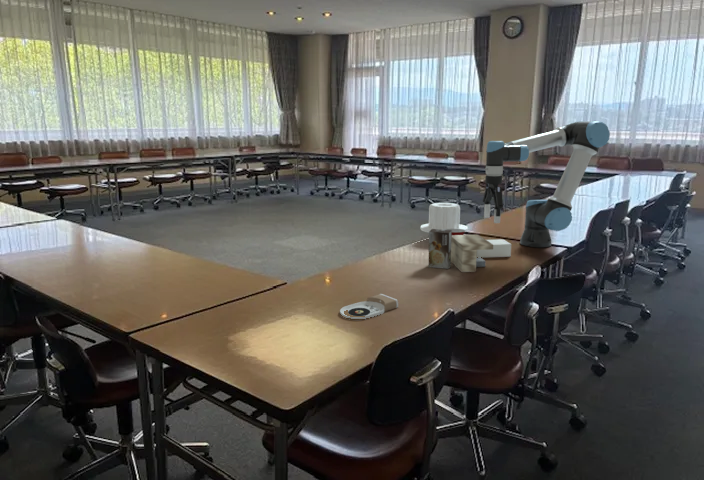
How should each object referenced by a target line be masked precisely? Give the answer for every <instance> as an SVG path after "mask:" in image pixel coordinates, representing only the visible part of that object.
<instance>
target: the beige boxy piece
mask: <svg viewBox="0 0 704 480" xmlns="http://www.w3.org/2000/svg"><path fill="white" fill-rule="evenodd" d="M487 240H488V239H485V238H483V237H482V236H481V235H480V234H464V235H452V237H451V264H453V266H455V267H456V268H457V269H458V270H459V271H460V272H462V273H470V272H471V273H475V272H476V271H477V268H483V267H485V268H486V264H487V263H486V260H485V259H483V257H482V258H481V257H478V258H477V250H490V249H493V244H491V243H490V242H488V241H487Z"/></svg>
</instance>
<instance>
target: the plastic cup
mask: <svg viewBox="0 0 704 480" xmlns="http://www.w3.org/2000/svg"><path fill="white" fill-rule="evenodd" d="M443 230H452V235H465V233H466V232H465V230H464V229H443Z"/></svg>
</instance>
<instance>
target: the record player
mask: <svg viewBox="0 0 704 480" xmlns="http://www.w3.org/2000/svg"><path fill="white" fill-rule="evenodd" d="M397 308H399V301H398V299H397V298H394V297H391V296H388V295H386V294H383V293H378V294H375V295H373V296H369V297H367V299H366V300H365V301H359V302H358V301H357V302H356V303H350V304H349V305H345V306H342V308H340V309H339V315H340V314H341V315H342V316H344V317H346V318H351V319H365V320H367V319H366V318H369V319H371V318H370V317H372V318H375V317H378V316H381V315H383V314H385V312H388V311H390V310H394V309H397ZM346 310H348V313H349V314H350V315H353V316H365V317H350V316H347V315H345V314H344V311H346ZM380 314H381V315H380ZM341 315H340V316H341ZM377 315H378V316H377ZM342 316H341V317H342ZM374 316H375V317H374ZM344 317H343V318H344ZM346 318H345V319H346Z"/></svg>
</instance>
